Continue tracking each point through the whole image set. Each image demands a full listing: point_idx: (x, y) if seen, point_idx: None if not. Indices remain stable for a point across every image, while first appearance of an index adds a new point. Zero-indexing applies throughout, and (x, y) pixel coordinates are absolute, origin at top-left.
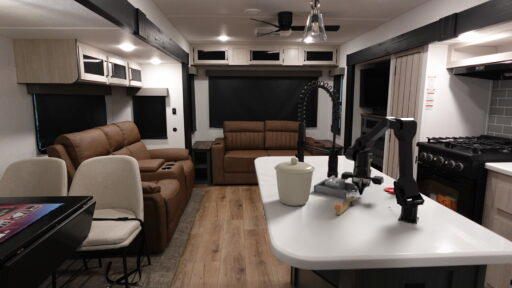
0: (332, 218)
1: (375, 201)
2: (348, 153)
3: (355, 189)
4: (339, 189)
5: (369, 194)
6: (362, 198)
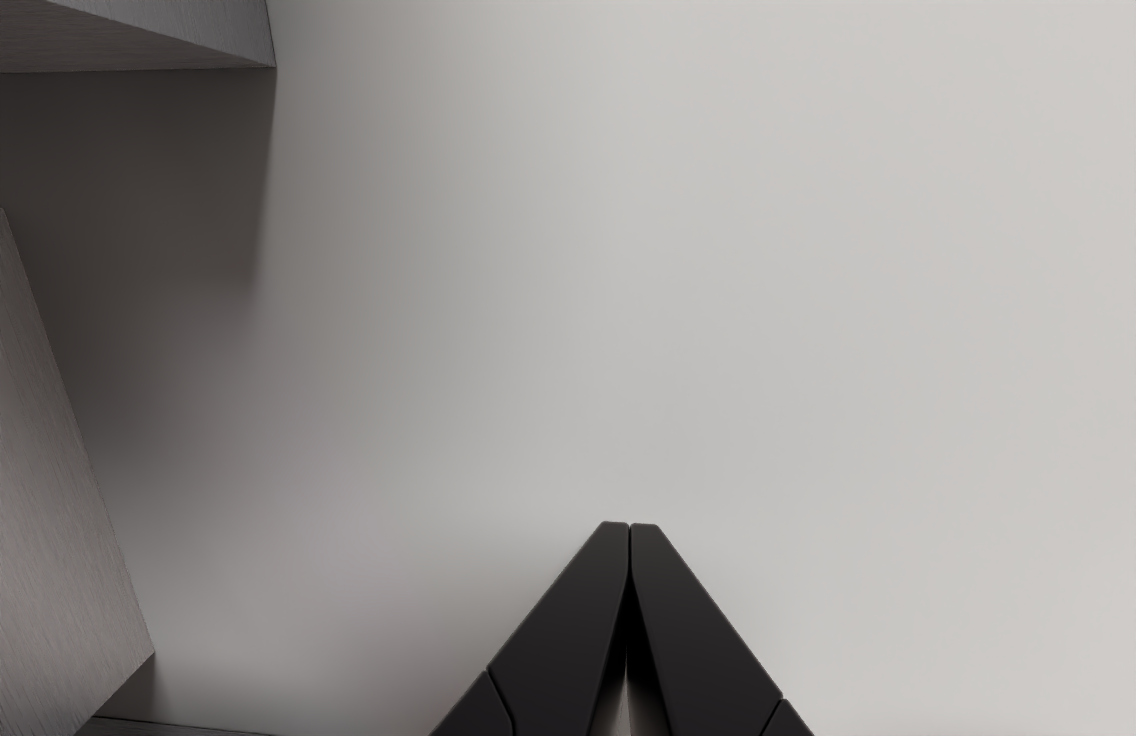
0: None
1: (1059, 672)
2: None
3: (229, 16)
4: (6, 715)
5: (845, 141)
6: None
